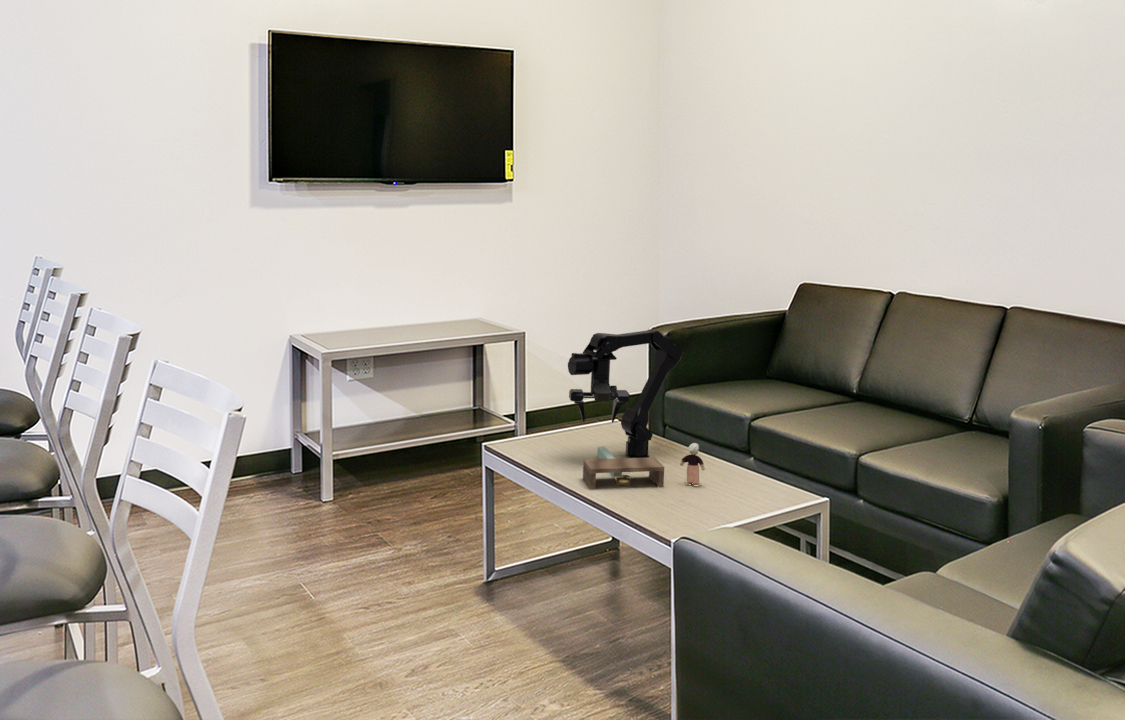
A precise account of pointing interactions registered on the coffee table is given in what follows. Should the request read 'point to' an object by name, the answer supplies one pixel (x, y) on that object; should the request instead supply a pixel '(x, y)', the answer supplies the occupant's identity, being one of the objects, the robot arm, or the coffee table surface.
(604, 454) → the green blade
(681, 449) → the coffee table surface
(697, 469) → the grandmother figurine
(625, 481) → the brass disc
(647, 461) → the walnut shelf
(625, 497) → the coffee table surface
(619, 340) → the robot arm
